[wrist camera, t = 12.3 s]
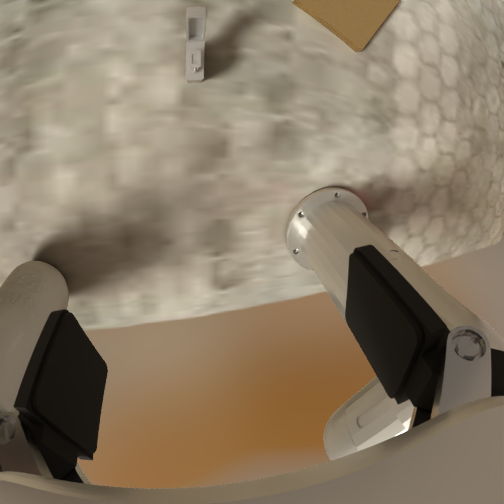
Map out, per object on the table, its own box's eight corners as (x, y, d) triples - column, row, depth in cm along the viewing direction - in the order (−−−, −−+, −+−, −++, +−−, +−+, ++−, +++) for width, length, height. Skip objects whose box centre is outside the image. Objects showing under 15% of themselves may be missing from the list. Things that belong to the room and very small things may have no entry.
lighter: (202, 82, 28) (204, 77, 21) (186, 82, 27) (184, 78, 21) (204, 25, 24) (207, 4, 17) (188, 25, 24) (187, 5, 17)
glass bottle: (70, 249, 34) (-12, 435, 11) (80, 306, 39) (37, 476, 15) (15, 245, 32) (-79, 399, 8) (29, 300, 37) (-29, 449, 13)
